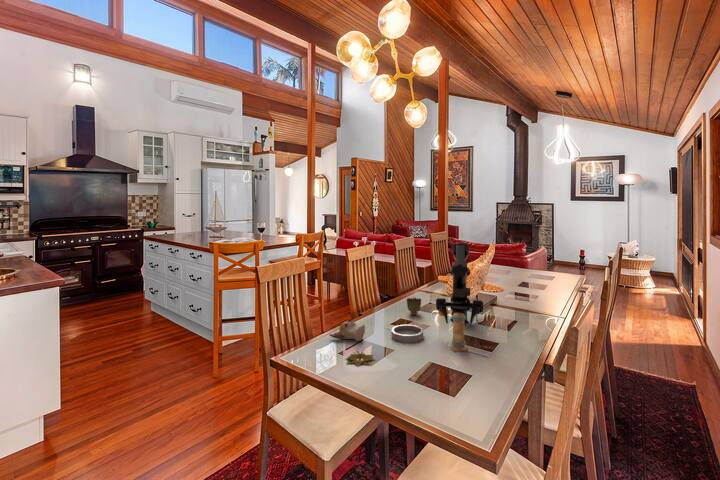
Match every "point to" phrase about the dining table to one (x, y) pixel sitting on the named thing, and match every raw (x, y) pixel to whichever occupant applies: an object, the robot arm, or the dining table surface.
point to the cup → (413, 305)
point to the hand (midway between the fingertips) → (458, 323)
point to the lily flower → (359, 356)
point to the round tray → (407, 333)
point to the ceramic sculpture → (350, 331)
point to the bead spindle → (458, 333)
